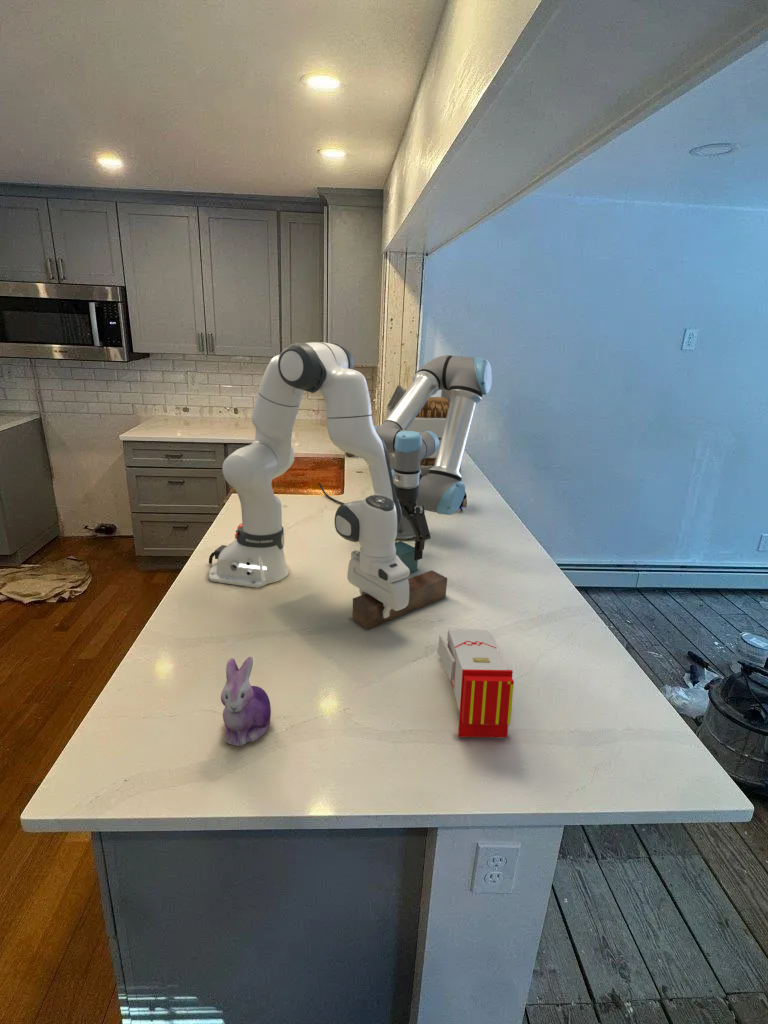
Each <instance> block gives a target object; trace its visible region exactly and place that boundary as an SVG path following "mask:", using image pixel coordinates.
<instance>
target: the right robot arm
mask: <svg viewBox="0 0 768 1024" xmlns="http://www.w3.org/2000/svg"><path fill="white" fill-rule="evenodd" d="M492 381H493V374H492V366H491V364H490V361H488V359H486V358H481V357H477V356H475V357H474V356H473V357H472V356H462V355H461V356H459V355H450V354H449V355H448V354H444V355H440V356H437V357H435V358H432V359H431V360H429V361H427V362H426V363H424V364H423V365H422V366H421V367H420V368H418V370H417V371H416V372H415V374H414V375H413V377H412V383H411V384H410V386H409V387H408V388H407V390H406V392H405V394H404V395H403V396H402V398H401V399H400V400H399V402H398V403H397V405H396V406H395V407H394V409H393V410H392V411H391V413H390V414H389V415H388V417H387V418H386V417H385V419H384V420H383V422H382V423H381V425H374V428H375V430H376V432H377V434H378V435H379V436H381V437H382V439H383V440H384V442H385V445H386V449H387V453H393V454H395V459H394V469H393V470H391V472H392V477H393V482H394V487H395V491H396V495H397V498H398V501H399V504H400V506H401V510H402V519H401V522H400V524H399V526H398V528H397V536H396V539H395V541H410V540H414V547H415V553H414V560H415V561H417V560H418V561H419V560H422V559H423V556H424V555H423V554H424V550H425V545H426V541H428V540H430V539H432V537H431V533H430V532H431V531H430V529H429V525H428V522H427V518H426V514H425V511H426V512H430V513H436V514H439V515H446V516H447V515H448V516H451V515H453V514H455V513H456V512H457V511H458V510H459V509H460V508H459V507H460V505H461V503H462V500H463V498H464V494H465V492H466V485H465V483H464V482H463V476H462V475H461V474H460V473H459V469H460V465H461V466H462V462H461V461H463V457H464V452H465V449H466V445H467V441H468V437H469V433H470V429H471V424H472V421H473V418H474V413H475V408H476V405H477V404H478V403H480V402H481V401H482V399H483V396H486V395H488V394H489V393H490V391H491V389H492ZM442 390H448V394H449V396H450V398H451V400H450V404H449V408H448V412H447V416H446V420H445V424H444V428H443V432H442V436H441V440H440V444H439V439H438V437H437V435H436V434H435V433H433V432H431V431H423V432H421V433H419V432H414V431H406V430H407V429H408V427H409V426H410V425H411V423H412V422H413V420H414V419H415V417H416V416H417V415H418V413H419V412H420V410H421V409H422V407H423V406H424V405H425V403H426V402H427V400H428V399H429V397H433V396H435V395H436V394H437V393H438V391H442ZM437 450H438V452H437V456H436V460H435V464H434V466H431V467H430V468H428V469H427V474H422V470H421V466H420V461H421V460H423V459H425V458H427V457H430V456H431V455H433V454H434V453H435V452H436V451H437ZM317 484H318V486H319V488H320V490H321V491H322V493H323V495H325V497H327V499H329V500H330V501H332V502H335V503H337V504H340V505H343V504H345V503H346V502H342V501H339V500H337V499H336V498H333V497H331V496H330V495H329V494H328V493H327V492H326V491H325V489H324V487H323V485H322V484H321V482H318V483H317ZM464 491H465V492H464ZM458 508H459V509H458Z"/></svg>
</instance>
